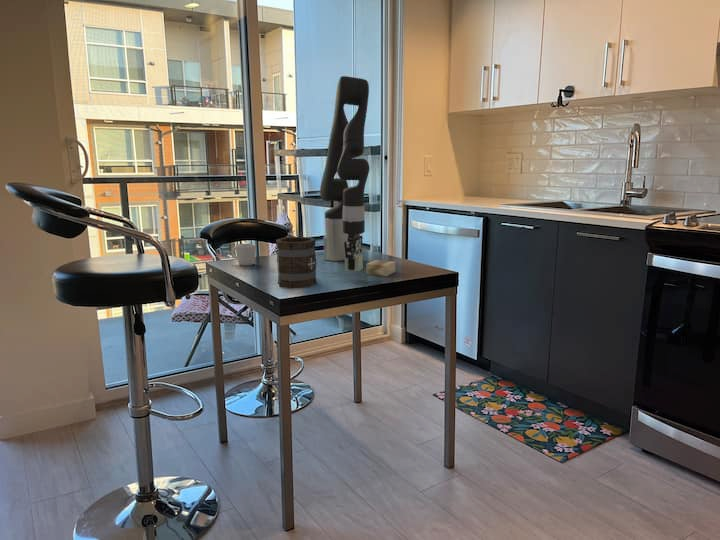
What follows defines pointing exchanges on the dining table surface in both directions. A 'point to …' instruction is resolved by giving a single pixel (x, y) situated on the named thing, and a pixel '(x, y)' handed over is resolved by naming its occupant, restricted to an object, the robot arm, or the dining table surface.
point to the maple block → (380, 267)
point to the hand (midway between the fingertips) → (353, 267)
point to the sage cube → (357, 262)
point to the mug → (296, 262)
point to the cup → (245, 254)
